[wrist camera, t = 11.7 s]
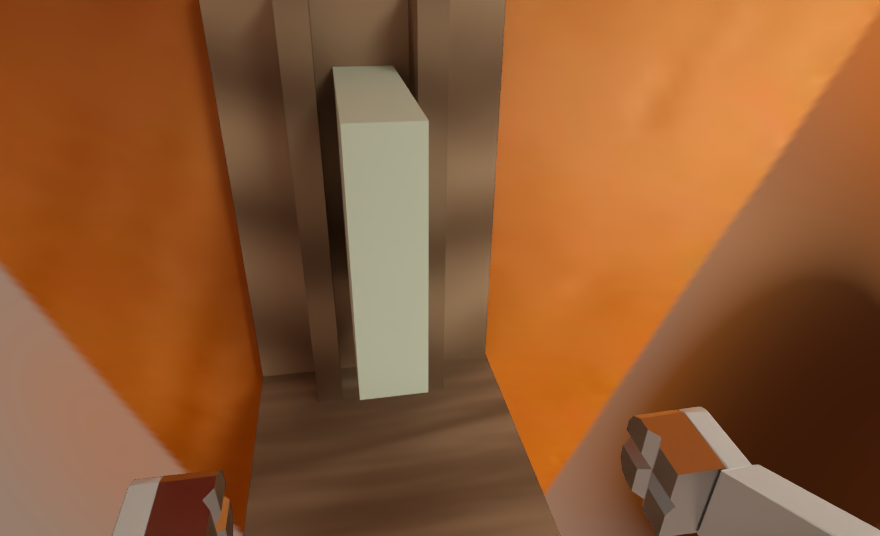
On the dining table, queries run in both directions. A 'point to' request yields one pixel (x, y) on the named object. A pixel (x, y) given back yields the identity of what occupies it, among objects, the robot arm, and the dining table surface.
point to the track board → (326, 275)
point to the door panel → (385, 227)
